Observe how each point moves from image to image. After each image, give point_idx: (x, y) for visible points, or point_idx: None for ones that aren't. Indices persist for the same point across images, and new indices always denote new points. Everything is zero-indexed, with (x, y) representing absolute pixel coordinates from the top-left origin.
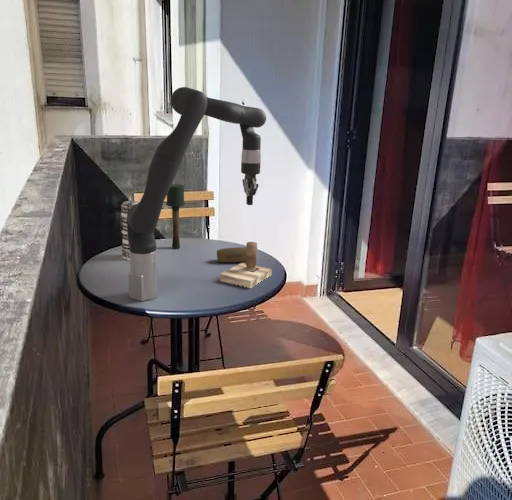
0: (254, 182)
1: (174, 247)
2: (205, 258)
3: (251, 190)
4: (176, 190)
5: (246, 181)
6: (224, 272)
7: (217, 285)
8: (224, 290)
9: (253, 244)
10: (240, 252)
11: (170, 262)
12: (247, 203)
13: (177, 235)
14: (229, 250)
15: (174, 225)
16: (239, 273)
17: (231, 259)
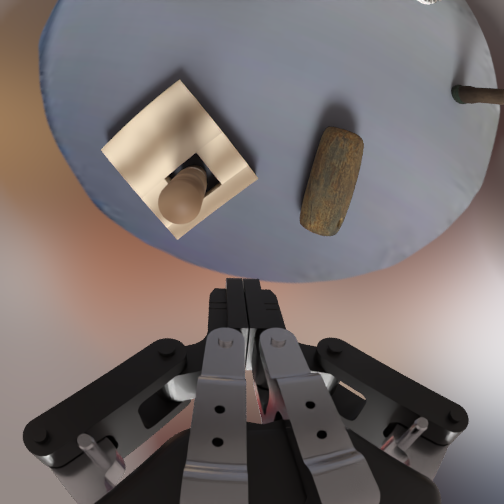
0: (70, 492)
1: (454, 86)
2: (375, 116)
3: (91, 388)
4: None
5: (221, 493)
6: (186, 94)
7: (154, 70)
8: (117, 81)
9: (161, 204)
10: (314, 197)
11: (369, 25)
12: (226, 282)
13: (476, 95)
14: (333, 166)
15: (497, 89)
16: (165, 135)
17: (313, 164)
